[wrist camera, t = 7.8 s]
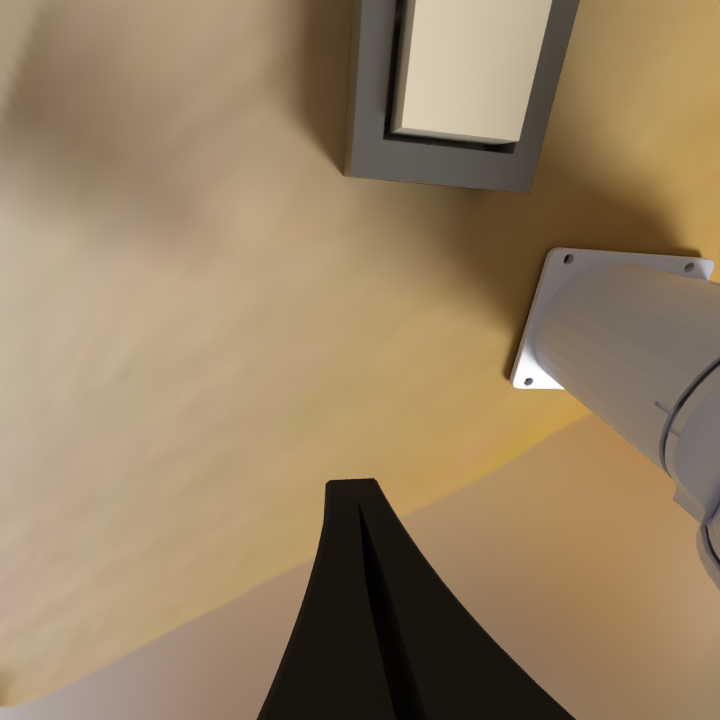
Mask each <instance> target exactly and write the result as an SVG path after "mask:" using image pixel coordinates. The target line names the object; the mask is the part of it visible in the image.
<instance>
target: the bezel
mask: <svg viewBox="0 0 720 720" xmlns="http://www.w3.org/2000/svg"><path fill="white" fill-rule="evenodd" d="M579 1H580V0H552V4H551V8H550V12H549V16H548V20H547V25H546V29H545V33H544V37H543V42H542V46H541V50H540V54H539V58H538V63H537V67H536V71H535V75H534V80H533V84H532V88H531V92H530V97H529V101H528V105H527V109H526V113H525V118H524V122H523V126H522V130H521V135H520V139H519V141H517V142H511V143H505V144H499V145H493V146H492V145H487V150H486V151H479V150H470V149H461V148H452V147H443V146H434V145H425V144H416V143H407V142H398V141H389V140H383V131H384V120H385V110H386V100H387V89H388V79H389V68H390V58H391V47H392V37H393V27H394V16H395V6H396V0H356V4H355V20H354V37H353V54H352V71H351V88H350V104H349V121H348V138H347V155H346V172H345V176H349V177H359V178H370V179H380V180H391V181H402V182H412V183H423V184H433V185H444V186H454V187H465V188H475V189H486V190H496V191H508V192H521V193H529V192H530V188H531V184H532V180H533V177H534V173H535V169H536V165H537V161H538V158H539V154H540V150H541V146H542V142H543V138H544V135H545V131H546V127H547V123H548V119H549V115H550V112H551V108H552V104H553V100H554V96H555V92H556V89H557V85H558V81H559V77H560V73H561V69H562V66H563V62H564V58H565V54H566V50H567V47H568V43H569V39H570V35H571V31H572V27H573V24H574V20H575V16H576V12H577V8H578V4H579Z"/></svg>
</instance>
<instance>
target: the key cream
mask: <svg viewBox="0 0 720 720" xmlns="http://www.w3.org/2000/svg"><path fill="white" fill-rule="evenodd" d="M551 4H552V0H403V6H402V16H401V26H400V35H399V45H398V55H397V65H396V75H395V84H394V94H393V104H392V114H391V124H390V133H389V134H395V135H404V136H413V137H421V138H430V139H439V140H448V141H457V142H465V143H474V144H483V145H492V146H493V145H499V144H505V143H511V142H517V141H519V139H520V135H521V130H522V126H523V122H524V118H525V113H526V109H527V105H528V101H529V97H530V92H531V88H532V84H533V80H534V75H535V71H536V67H537V63H538V58H539V54H540V50H541V46H542V42H543V37H544V33H545V29H546V25H547V20H548V16H549V12H550V8H551Z"/></svg>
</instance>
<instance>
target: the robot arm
mask: <svg viewBox="0 0 720 720" xmlns="http://www.w3.org/2000/svg"><path fill="white" fill-rule="evenodd" d="M567 255H569V258H568V260H567V261H566V262H565V263H564V258H565V256H567ZM686 265H687V267H686ZM685 267H686V268H685ZM713 268H714V262H713V260H711V259H707V258H700V257H686V256H672V255H659V254H645V253H631V252H618V251H604V250H590V249H576V248H563V247H557V248H554V249H552V250H551V251H550V252H549V253H548V254H547V257H546V260H545V263H544V266H543V270H542V273H541V276H540V280H539V283H538V286H537V290H536V293H535V296H534V300H533V303H532V306H531V310H530V313H529V316H528V320H527V323H526V326H525V329H524V333H523V336H522V339H521V343H520V346H519V349H518V353H517V356H516V359H515V363H514V366H513V369H512V373H511V376H510V384H511V385H512V386H513V387H514V388H518V389H565V390H566V391H568V392H569V393H570V394H571V395H572V396H574V397H575V398H576V399H577V400H578V401H580V402H581V403H582V404H583V405H584V406H586V407H587V408H588V409H589V410H590V411H592V412H593V413H594V414H595V415H596V416H598V417H599V418H600V419H601V420H602V421H604V422H605V423H606V424H607V425H608V426H609V427H611V428H612V429H613V430H614V431H616V432H617V433H618V434H619V435H620V436H621V437H623V438H624V439H625V440H626V441H627V442H629V443H630V444H631V445H632V446H633V447H635V448H636V449H637V450H638V451H639V452H641V453H642V454H643V455H644V456H645V457H647V458H648V459H649V460H650V461H651V462H653V463H654V464H655V465H656V466H657V467H659V468H660V469H661V470H662V471H663V472H665V473H666V474H667V475H668V476H669V477H671V478H672V479H673V480H674V482H675V486H676V490H675V494H674V496H673V500H674V501H675V502H676V503H677V504H679V505H680V506H681V507H682V508H683V509H684V510H685V511H687V512H688V513H689V514H690V515H691V516H692V517H693V518H694V519H696V520H697V521H698V522H699V523H700V525H699V526H698V530H697V534H696V544H697V550H698V553H699V557H700V560H701V562H702V564H703V566H704V567H705V569H706V571H707V573H708V575H709V576H710V578H711V579H712V580H713V582H714V583H715V585H716V586H717V588H718V589H719V590H720V283H718V282H715V281H711V280H708V278H709V276H710V274H711V272H712V270H713ZM527 378H529V380H528V381H526V382H524V381H525V380H526V379H527ZM257 720H576V719H575V718H574V717H573V716H571V715H570V714H569V713H568V712H567V711H566V710H565V709H564V708H563V707H562V706H561V705H560V704H558V703H557V702H556V701H555V700H554V699H553V698H552V697H551V696H550V695H549V694H548V693H547V692H546V691H544V690H543V689H542V688H541V687H540V686H539V685H538V684H537V683H536V682H535V681H534V680H533V679H532V678H531V677H530V676H529V675H528V674H527V673H526V672H525V671H524V670H523V669H522V668H521V667H520V666H519V665H518V664H517V663H516V662H515V661H514V660H513V659H512V658H511V657H510V656H509V655H508V654H507V653H506V652H505V651H504V650H503V649H502V648H501V647H500V646H499V645H498V644H497V643H496V642H495V641H494V640H493V639H492V638H491V637H490V636H489V634H488V633H487V632H486V631H485V630H484V629H483V628H482V627H481V626H480V625H479V623H478V622H477V621H476V620H475V619H474V618H473V617H472V616H471V615H470V613H469V612H468V611H467V610H466V609H465V608H464V607H463V605H462V604H461V603H460V602H459V601H458V600H457V598H456V597H455V596H454V595H453V594H452V592H451V591H450V590H449V588H448V587H447V586H446V585H445V584H444V582H443V581H442V580H441V578H440V577H439V576H438V574H437V573H436V572H435V570H434V569H433V568H432V567H431V565H430V564H429V563H428V561H427V560H426V559H425V557H424V556H423V554H422V553H421V552H420V550H419V549H418V547H417V546H416V544H415V543H414V541H413V540H412V538H411V537H410V535H409V534H408V533H407V531H406V530H405V528H404V527H403V525H402V523H401V522H400V520H399V519H398V517H397V516H396V514H395V512H394V511H393V509H392V507H391V506H390V504H389V502H388V501H387V499H386V497H385V495H384V494H383V492H382V490H381V488H380V486H379V484H378V482H377V481H376V480H375V479H374V478H369V479H345V480H330V481H328V482H327V483H326V488H325V506H324V522H323V527H322V532H321V537H320V541H319V546H318V550H317V554H316V558H315V562H314V565H313V569H312V572H311V576H310V580H309V583H308V586H307V590H306V593H305V596H304V599H303V602H302V606H301V608H300V611H299V614H298V617H297V620H296V623H295V626H294V628H293V631H292V634H291V637H290V640H289V642H288V645H287V647H286V650H285V652H284V655H283V658H282V660H281V663H280V665H279V668H278V671H277V673H276V676H275V678H274V680H273V683H272V685H271V688H270V690H269V693H268V695H267V697H266V700H265V702H264V704H263V706H262V709H261V711H260V713H259V716H258V718H257Z"/></svg>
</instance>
